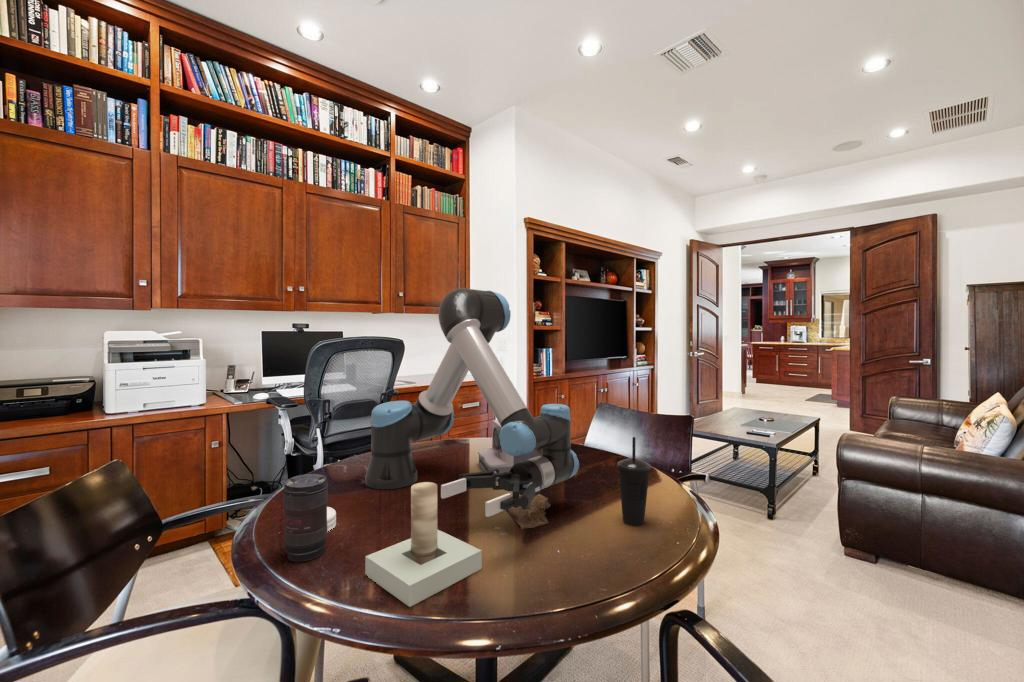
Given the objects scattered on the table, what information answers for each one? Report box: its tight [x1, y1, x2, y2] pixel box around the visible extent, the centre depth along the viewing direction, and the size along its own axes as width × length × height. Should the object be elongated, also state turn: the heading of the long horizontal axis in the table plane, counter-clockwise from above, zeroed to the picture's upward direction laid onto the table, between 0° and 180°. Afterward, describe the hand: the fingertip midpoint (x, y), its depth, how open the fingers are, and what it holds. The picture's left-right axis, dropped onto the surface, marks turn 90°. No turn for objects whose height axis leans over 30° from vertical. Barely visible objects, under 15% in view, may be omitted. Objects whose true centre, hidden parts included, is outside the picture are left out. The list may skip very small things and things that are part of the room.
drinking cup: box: [616, 436, 652, 527], centre depth 105 cm, size 8×8×20 cm
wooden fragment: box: [506, 493, 552, 530], centre depth 114 cm, size 26×11×1 cm, turn 172°
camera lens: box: [282, 473, 329, 563], centre depth 89 cm, size 8×8×15 cm
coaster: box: [327, 506, 337, 533], centre depth 101 cm, size 10×10×4 cm
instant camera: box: [477, 419, 541, 473], centre depth 145 cm, size 21×21×15 cm
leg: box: [410, 481, 438, 565], centre depth 82 cm, size 5×5×16 cm
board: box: [364, 528, 483, 608], centre depth 82 cm, size 14×16×4 cm
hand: (463, 500), depth 89 cm, fingers open, 13 cm apart
